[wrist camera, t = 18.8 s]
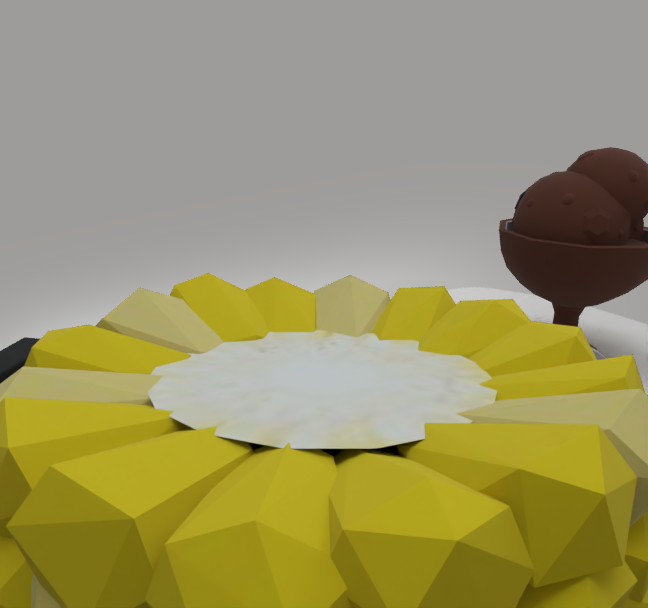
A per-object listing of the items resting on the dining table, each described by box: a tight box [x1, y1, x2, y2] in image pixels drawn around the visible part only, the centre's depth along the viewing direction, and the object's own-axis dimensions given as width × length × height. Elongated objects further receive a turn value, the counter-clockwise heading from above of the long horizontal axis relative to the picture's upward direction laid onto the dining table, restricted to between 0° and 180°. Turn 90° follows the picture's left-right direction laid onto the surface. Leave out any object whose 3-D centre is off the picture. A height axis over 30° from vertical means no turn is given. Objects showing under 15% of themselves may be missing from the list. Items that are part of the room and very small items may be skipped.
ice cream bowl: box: [499, 148, 648, 350], centre depth 42 cm, size 11×11×15 cm
